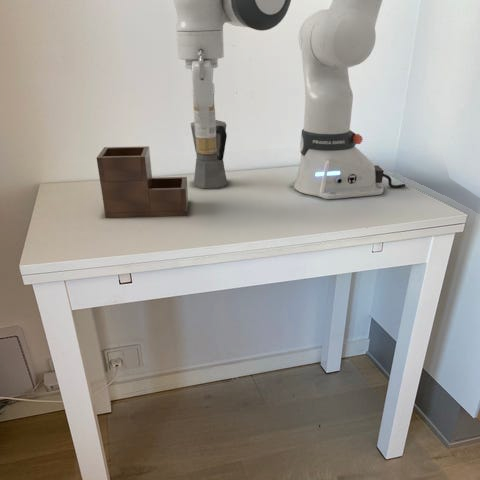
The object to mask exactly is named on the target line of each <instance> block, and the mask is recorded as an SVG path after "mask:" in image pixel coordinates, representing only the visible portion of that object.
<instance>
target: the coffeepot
mask: <svg viewBox="0 0 480 480" xmlns="http://www.w3.org/2000/svg"><path fill="white" fill-rule="evenodd" d="M215 120H216V148H217V151H216V152H215V153H213V154H200V153H197V152H196V136H195V126H194V121H192V122H190V129H191V134H192V140H193V145H194V150H195V151H194V152H195V153H196V154H195V156H196V159H195V168H194V177H193V185H194V187H197V188H199V189H203V190H205V189H206V190H214V189H221V188H223V187H226V186H227V185H228V180H227V176H226V174H227V173H226V169H225V162H224V155H225V151H226V150H225V149H226V143H227V137H228V135H227V123H226V121H223V120H218V119H215Z"/></svg>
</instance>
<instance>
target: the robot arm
mask: <svg viewBox="0 0 480 480" xmlns="http://www.w3.org/2000/svg"><path fill="white" fill-rule="evenodd" d="M291 2H292V0H173V3H174V8H175V10H176V17H177V19H176V20H177V21H176V28H175V30H176V43H177V45H176V46H177V56H178V60H184V63H185V69H187V70H190V71H191V82H192V83H191V85H192V86H193V94H192V102H193V101H194V104H193V107H194V106H195V107H196V108H199V115H200V125H201V127H202V128H208V127H209V107H212V106H213V85H212V83H214V81H213V80H214V69H217V68H218V67H219V63H218V62H219V59H224V57H225V46H224V45H225V44H224V25H225V23H226V24H229V25H231V26H234V27H241V28H248V29H253V30H255V31H263V32H264V31H268V30H271V29H273V28H275V27H276V26H278V25H279V24H280V23H281V22H282V21H283V19H284V18H285V16H286V15H287V13H288V11H289V8H290V5H291ZM382 4H383V0H332V1H331V4H330V6H329V8H328V9H326V8H325V9H320V10H317V11H315V12H314V13H312V14H311V15H310V16H308V17H307V18H306V19H304V21H303V22H302V24H301V25H300V28H299V31H298V46H299V48H300V51H301V60H302V73H303V81H304V116H303V128H302V130H301V135H300V142H299V143H300V144H299V145H300V146H299V150H300V151H299V152H300V160H299V165H298V170H297V174H296V178H295V182H294V184H293V189H294V190H296V191H297V192H299V193H302V194H305V195H309V196H315V197H318V198H322V199H324V200H337V199H346V198H357V197H358V198H359V197H368V196H379V195H382V194H383V193H384V190H385V189H384V185H383V184H382V183H383V180H384V179H383V178H385V179H386V180H387V182H388V186H389V187H390V188H391V189H401V188H406V186H407V185H406V184H405V183H402V184H396V185H395V184H393V183H392V181H393V179H392V177H391V176H390V175H388V174H386V173H384V169H382V168H381V167H380V165H376V164H375V165H374V162H372V160H371V159H370V158H368V156H366V155H365V153H363V152H362V151H361V150H360V149H359V148H357V146H356V145H360V144H362V143H363V140H364V139H363V136H362V135H360V133H356V132H354V131H352V130H351V121H352V110H353V103H354V94H353V90H352V87H351V83H350V76H349V69H350V68H352V67H355V66H358V65H361V64H362V63H364V62H365V61H366V60H367V59H368V58H369V57H370V55H371V54H372V52H373V50H374V48H375V44H376V40H377V39H376V38H377V37H376V36H377V34H376V25H377V20H378V17H379V14H380V10H381V6H382Z"/></svg>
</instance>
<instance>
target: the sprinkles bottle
mask: <svg viewBox="0 0 480 480" xmlns="http://www.w3.org/2000/svg"><path fill="white" fill-rule="evenodd" d="M212 85H213V106H212V107H209V127H208V128H202V127H201V125H200V115H199V108H196V107H195V106H194V101H193V100H192V104H193V122H194V126H195V136H196V151H195V153H196V152H197V153H200V154H213V153H215V152H216V151H217V148H216V120H217V119H216V108H215V83H214V82H213V83H212ZM190 87H191V88H190V89H191V94H192V95H193V86H192V84H191V85H190Z"/></svg>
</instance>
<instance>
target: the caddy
mask: <svg viewBox="0 0 480 480" xmlns="http://www.w3.org/2000/svg"><path fill="white" fill-rule="evenodd" d="M151 162H152V161H151V152H150V146H148V145H147V146H146V145H145V146H104V147H103V148H102V150H100V152H99V154H98V155H97V156H96V164H97V171H98V177H99V183H100V189H101V190H100V191H101V196H102V202H103V209H104V214H105V215H104V216H105V218H106V219H107V218H108V219H110V218H111V219H112V218H140V217H141V218H143V217H146V218H147V217H179V216H184V217H185V216H188V211H189V210H188V209H189V192H188V191H189V190H188V176H165V177H164V176H162V177H160V176H159V177H158V176H157V177H153V174H152V173H153V171H152V163H151Z"/></svg>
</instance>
